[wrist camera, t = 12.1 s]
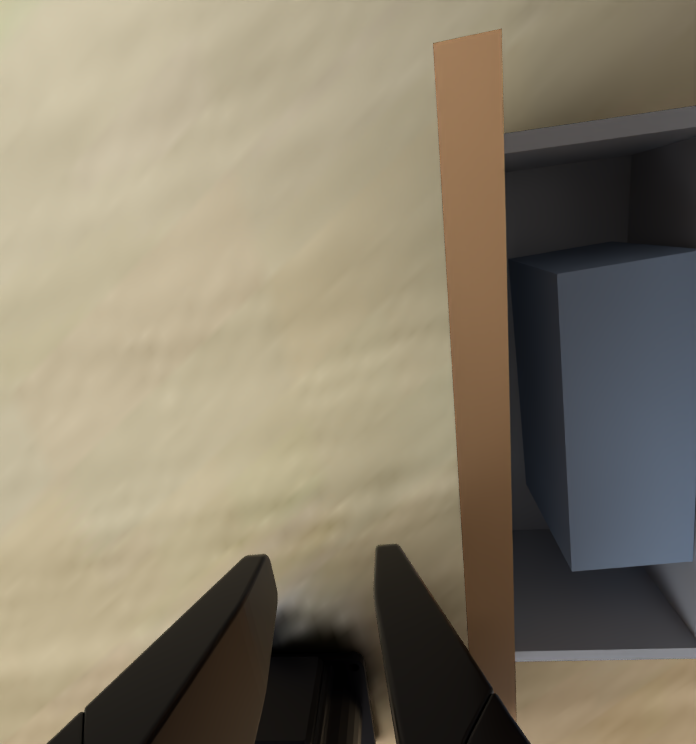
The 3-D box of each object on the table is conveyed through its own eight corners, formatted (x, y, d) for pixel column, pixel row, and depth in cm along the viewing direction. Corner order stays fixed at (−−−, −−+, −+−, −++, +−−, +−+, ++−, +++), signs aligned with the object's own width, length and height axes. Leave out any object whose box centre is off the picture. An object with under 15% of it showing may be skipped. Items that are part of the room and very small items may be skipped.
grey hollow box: (616, 525, 20) (715, 657, 14) (461, 533, 20) (492, 662, 14) (637, 142, 15) (796, 91, 9) (440, 169, 16) (471, 138, 10)
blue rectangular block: (615, 474, 18) (693, 561, 14) (526, 483, 19) (572, 571, 14) (611, 241, 16) (705, 249, 11) (508, 259, 16) (556, 273, 12)
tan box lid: (522, 977, 8) (487, 969, 9) (492, 663, 14) (472, 661, 15) (500, 28, 4) (432, 43, 4) (471, 138, 10) (442, 142, 10)
